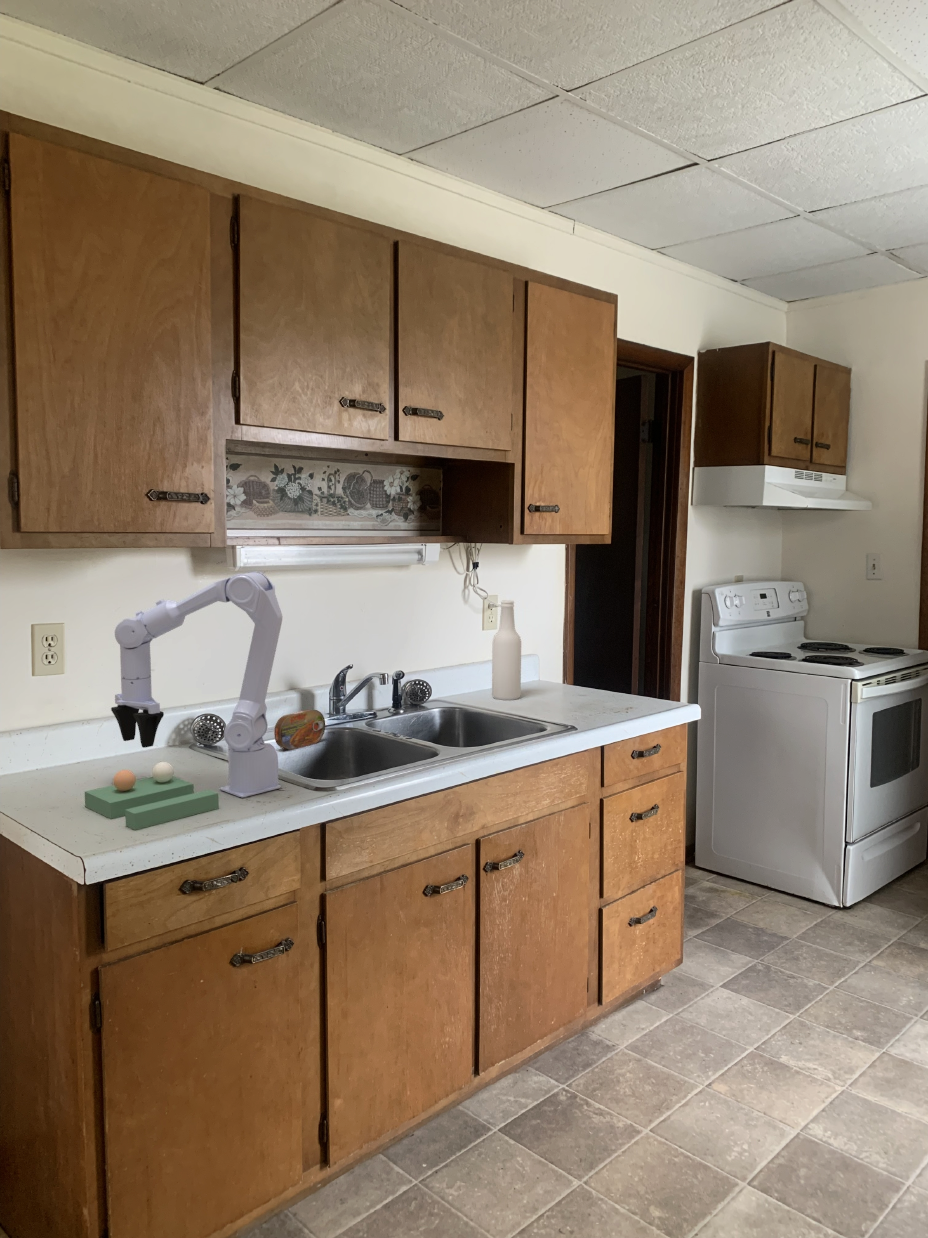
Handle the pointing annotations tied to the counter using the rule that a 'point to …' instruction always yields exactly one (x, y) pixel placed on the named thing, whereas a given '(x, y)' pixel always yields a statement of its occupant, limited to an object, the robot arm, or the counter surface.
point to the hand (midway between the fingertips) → (138, 743)
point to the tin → (299, 729)
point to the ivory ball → (162, 772)
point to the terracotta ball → (124, 780)
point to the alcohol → (506, 656)
